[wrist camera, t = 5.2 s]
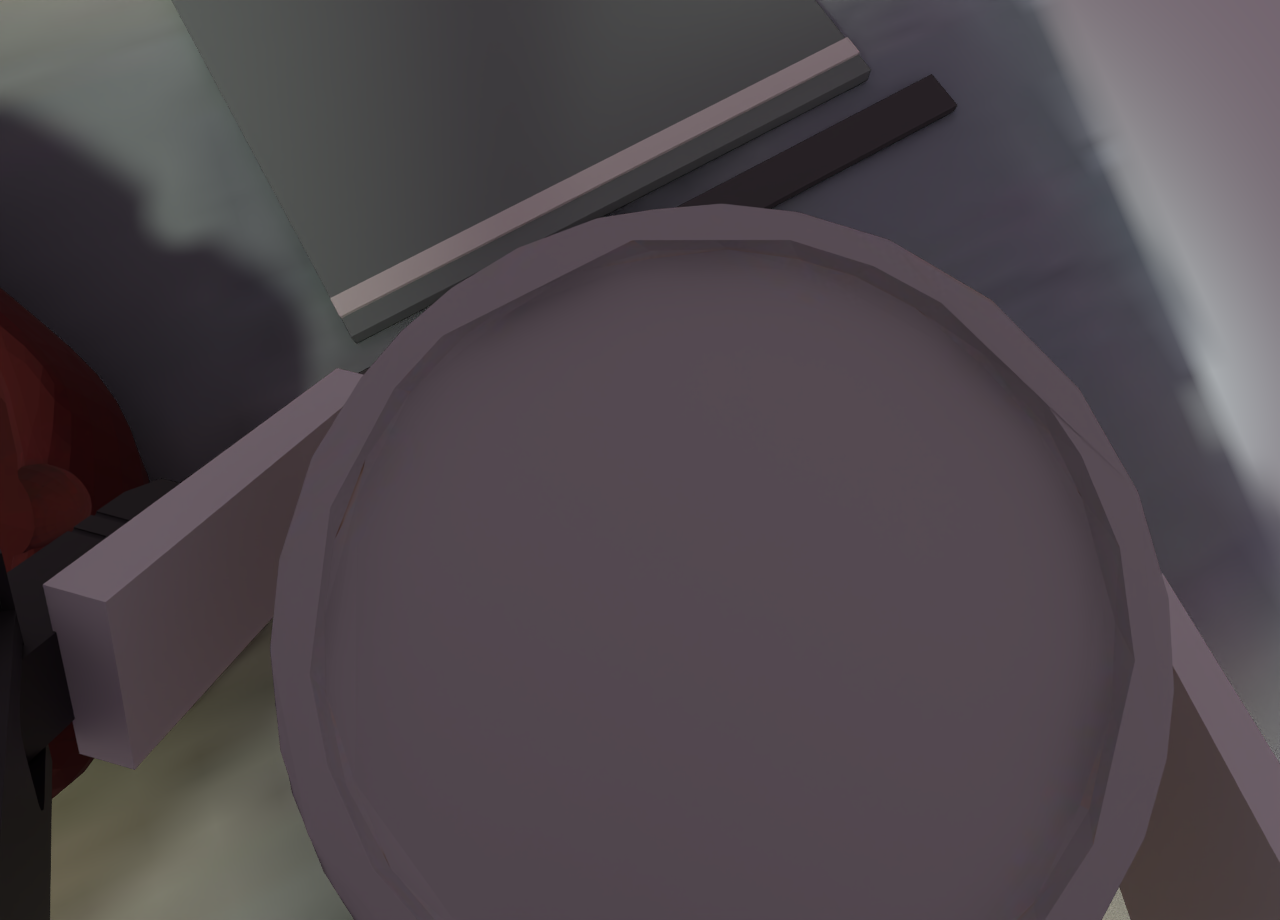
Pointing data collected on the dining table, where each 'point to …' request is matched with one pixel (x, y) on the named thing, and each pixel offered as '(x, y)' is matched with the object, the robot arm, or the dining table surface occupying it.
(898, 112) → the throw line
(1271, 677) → the dining table surface
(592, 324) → the disposable coffee cup
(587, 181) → the mat
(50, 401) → the ashtray
